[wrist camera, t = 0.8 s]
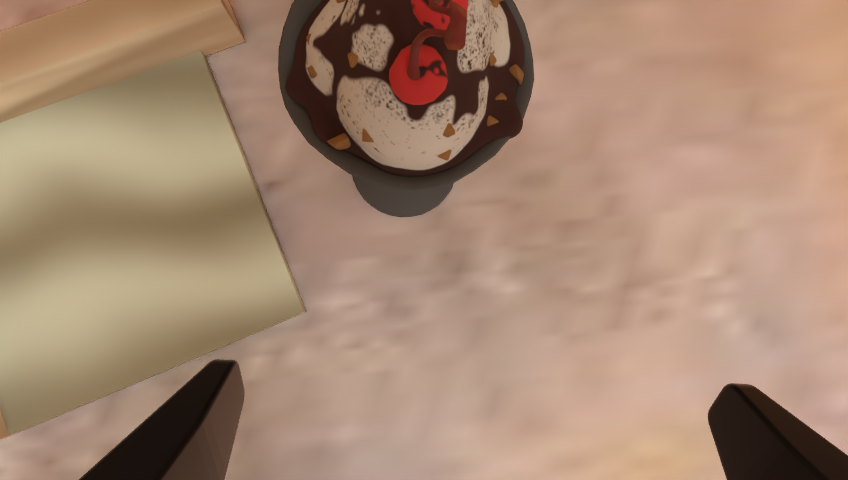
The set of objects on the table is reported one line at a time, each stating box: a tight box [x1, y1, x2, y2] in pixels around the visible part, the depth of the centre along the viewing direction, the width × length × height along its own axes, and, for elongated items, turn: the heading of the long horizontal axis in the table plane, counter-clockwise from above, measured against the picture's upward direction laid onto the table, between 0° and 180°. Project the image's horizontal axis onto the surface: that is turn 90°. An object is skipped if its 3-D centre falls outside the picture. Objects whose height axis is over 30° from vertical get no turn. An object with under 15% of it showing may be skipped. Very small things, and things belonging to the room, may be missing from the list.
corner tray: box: [0, 0, 306, 440], centre depth 20 cm, size 15×17×3 cm
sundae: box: [278, 0, 534, 217], centre depth 15 cm, size 7×7×15 cm
